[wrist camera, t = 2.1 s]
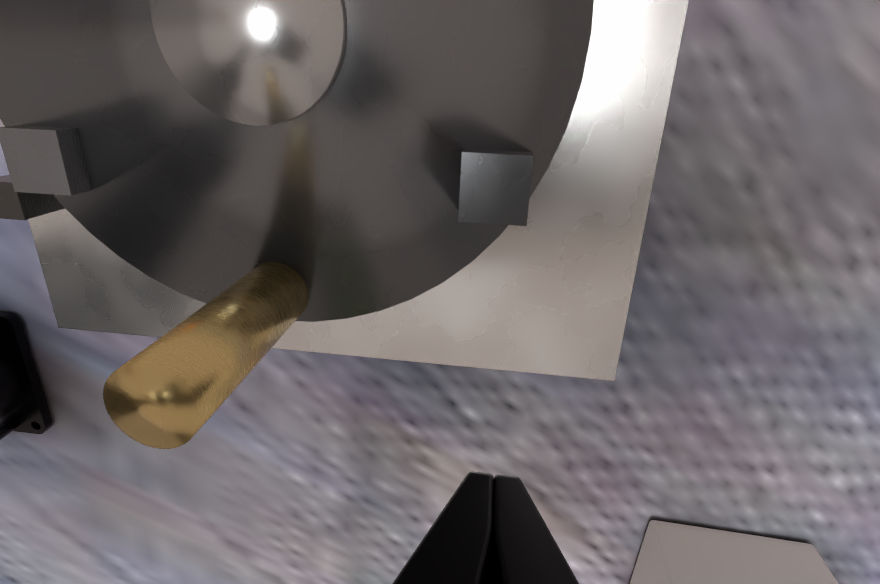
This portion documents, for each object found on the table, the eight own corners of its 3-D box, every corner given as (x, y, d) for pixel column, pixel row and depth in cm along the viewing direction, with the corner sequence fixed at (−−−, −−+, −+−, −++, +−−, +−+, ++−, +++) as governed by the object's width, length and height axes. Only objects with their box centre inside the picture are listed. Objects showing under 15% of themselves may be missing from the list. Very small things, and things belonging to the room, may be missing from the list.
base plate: (607, 361, 21) (631, 430, 17) (85, 312, 23) (-7, 363, 19) (767, -501, 12) (903, -807, 8) (-107, -436, 14) (-357, -646, 10)
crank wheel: (-38, -339, 13) (-955, -1039, 5) (627, -373, 12) (927, -1528, 3) (103, 268, 20) (-193, 406, 12) (543, 305, 18) (572, 497, 10)
